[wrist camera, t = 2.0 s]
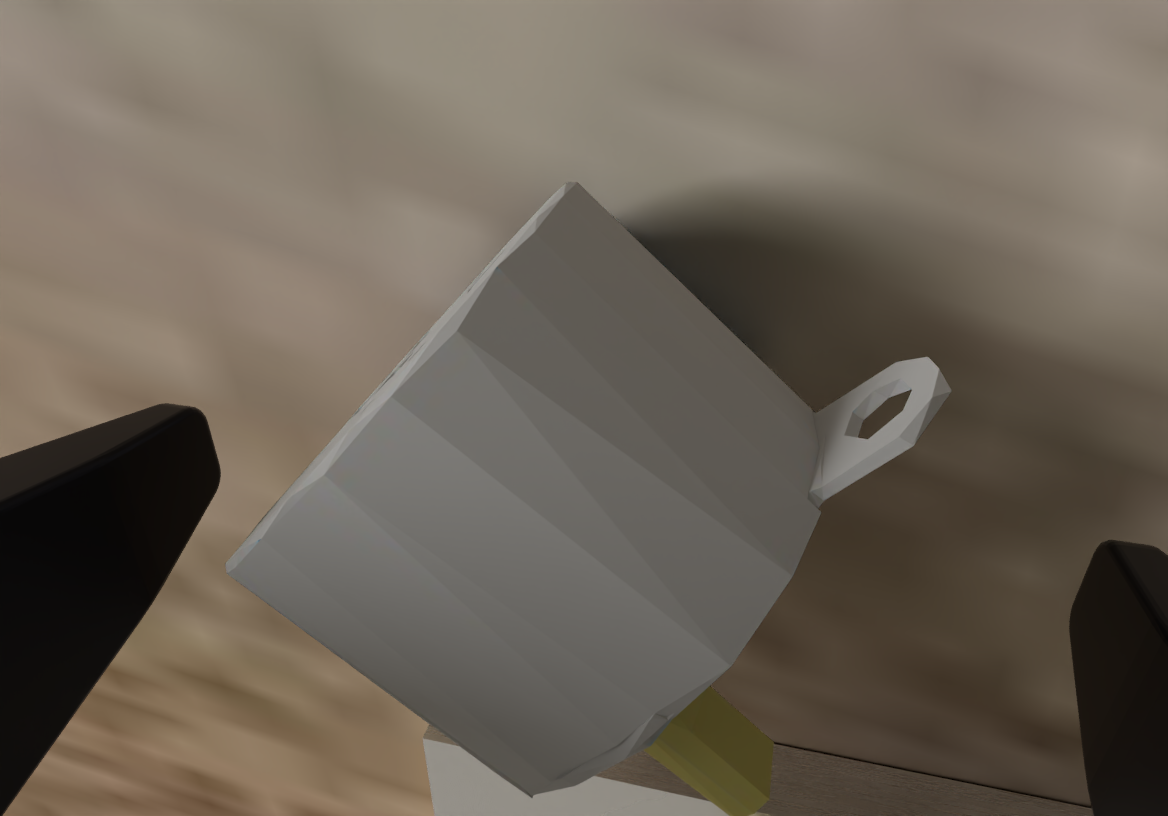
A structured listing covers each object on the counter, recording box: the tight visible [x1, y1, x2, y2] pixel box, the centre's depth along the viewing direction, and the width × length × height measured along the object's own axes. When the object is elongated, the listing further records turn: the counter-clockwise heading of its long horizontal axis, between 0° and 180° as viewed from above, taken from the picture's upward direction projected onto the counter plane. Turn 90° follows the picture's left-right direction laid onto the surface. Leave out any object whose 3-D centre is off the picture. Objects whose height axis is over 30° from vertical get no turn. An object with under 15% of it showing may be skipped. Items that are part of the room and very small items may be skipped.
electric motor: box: [225, 182, 952, 816], centre depth 9 cm, size 7×5×5 cm
